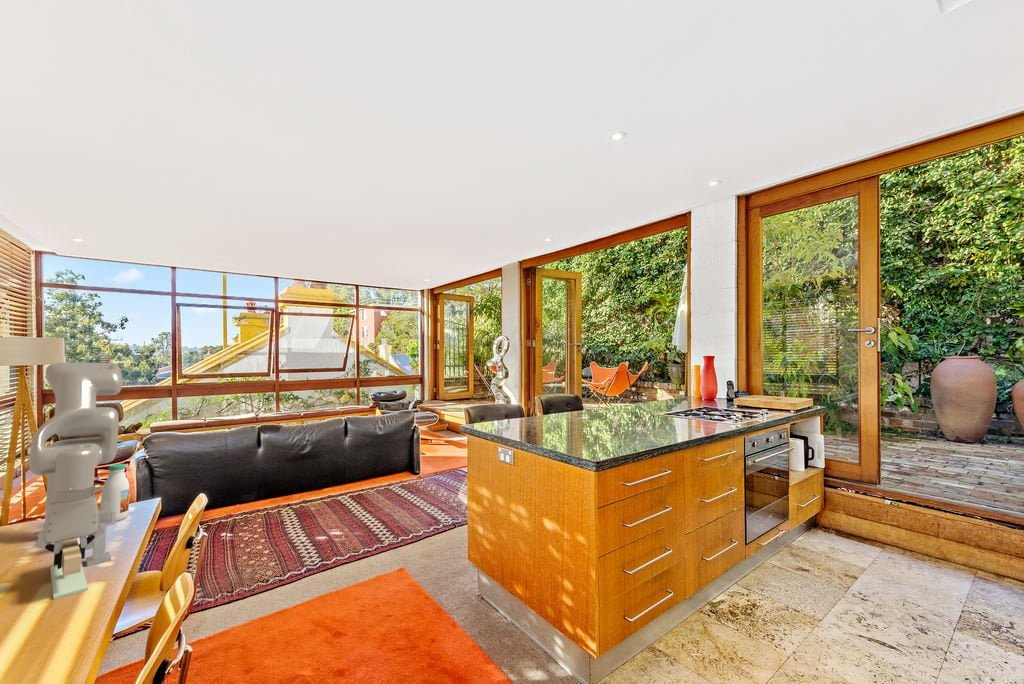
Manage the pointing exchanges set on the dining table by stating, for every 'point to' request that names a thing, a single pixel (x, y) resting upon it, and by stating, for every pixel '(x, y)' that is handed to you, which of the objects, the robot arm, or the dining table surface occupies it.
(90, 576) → the dining table surface
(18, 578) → the dining table surface
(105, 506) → the post
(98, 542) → the post
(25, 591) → the dining table surface
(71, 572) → the rail
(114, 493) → the milk bottle
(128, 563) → the dining table surface
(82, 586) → the mat
